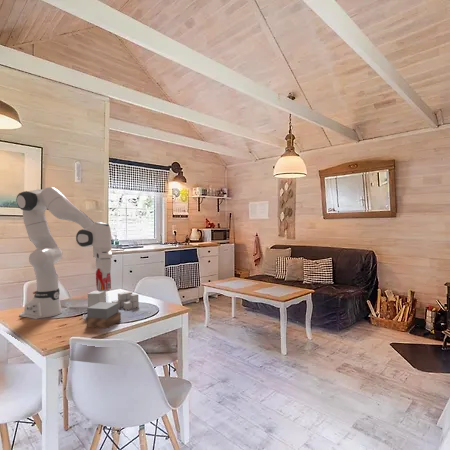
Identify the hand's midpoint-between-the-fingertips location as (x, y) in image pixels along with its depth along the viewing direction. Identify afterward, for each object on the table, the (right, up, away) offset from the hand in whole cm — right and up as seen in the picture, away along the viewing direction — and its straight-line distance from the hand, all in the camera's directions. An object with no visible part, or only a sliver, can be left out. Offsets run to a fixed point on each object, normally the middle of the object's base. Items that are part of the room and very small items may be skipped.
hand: (102, 279), depth 164 cm
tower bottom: (0, -24, +1) cm, 24 cm away
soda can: (+1, -6, -1) cm, 6 cm away
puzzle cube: (+2, -23, +30) cm, 38 cm away
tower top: (0, -19, 0) cm, 19 cm away
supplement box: (-10, -23, +17) cm, 31 cm away
